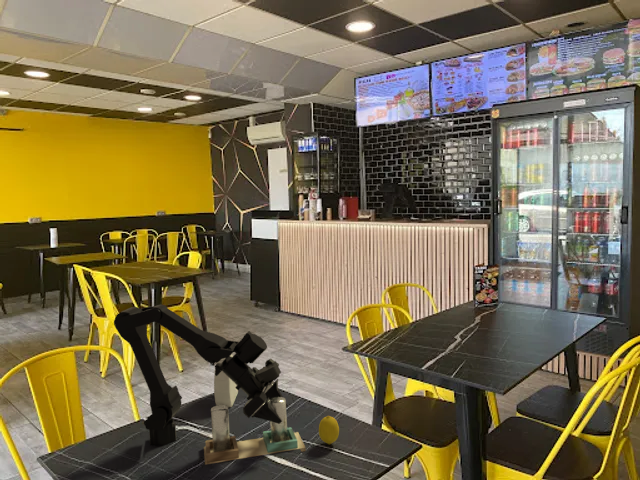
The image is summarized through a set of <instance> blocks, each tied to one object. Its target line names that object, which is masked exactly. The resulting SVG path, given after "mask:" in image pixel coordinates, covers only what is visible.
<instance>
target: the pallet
mask: <svg viewBox="0 0 640 480" xmlns="http://www.w3.org/2000/svg"><path fill="white" fill-rule="evenodd" d="M287 436H288V440H287V441H280V442H274V443H271V429H270V430H265V431H262V437H259V438H252V439H246V440H239V441H237V438H236V435H234V436H230V450H225V451H219V452H213V438H212V439H207V440H205V446H203V452H204V453H203V455H204V456H203V457H204V465H211V464H216V463H217V464H218V463H222V462H223V463H224V462H228V461H233V460H241V459H246V458H253V457H257V456H264V455H265V456H266V455H270V454H277V453H283V452H288V451H295V450H300V452H301V453H304V452H306V449H307V448H306V445H305V444H304V441H303V439H302V438H301V435H300V434H299V431H296V432H295V431H294V430H293V428H292V426H291V427H290V426H289V427H287Z"/></svg>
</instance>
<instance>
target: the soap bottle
mask: <svg viewBox="0 0 640 480" xmlns="http://www.w3.org/2000/svg"><path fill="white" fill-rule="evenodd" d="M233 356H234V355H233V353H232V354H231V355H230V357H233ZM224 359H225V358H224ZM224 359H221V360H220V361H219V362H217V363H222V362H223V360H224ZM217 363H215V365H216V364H217ZM236 386H237V385H236V384H235V383H234V382H233V381H232V380H231V379H230V378H229V377H228V376H227V375H226V374H225V373H224V372H223V371H221V372H220V373H219V375H218V376H215V374H214V377H213V389H214V390H213V392H214V393H213V394H214V402H215V406H217V405H226V406H228V408H232V407H233V405H234V403H235V401H236V397H237V396H238V393H239V390H237V389H236V388H235V387H236Z"/></svg>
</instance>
